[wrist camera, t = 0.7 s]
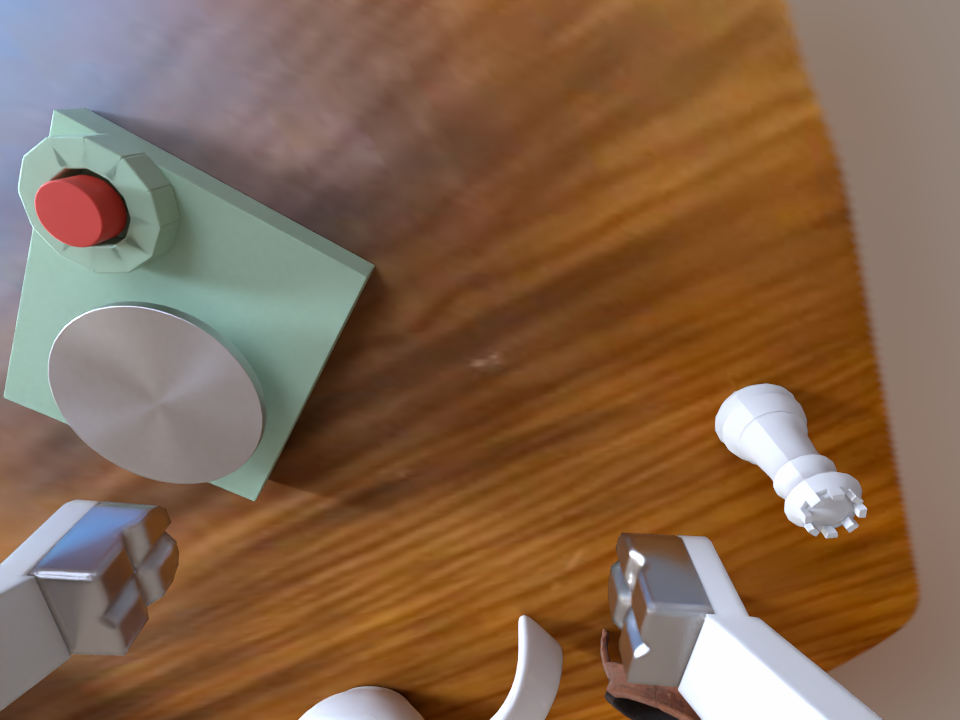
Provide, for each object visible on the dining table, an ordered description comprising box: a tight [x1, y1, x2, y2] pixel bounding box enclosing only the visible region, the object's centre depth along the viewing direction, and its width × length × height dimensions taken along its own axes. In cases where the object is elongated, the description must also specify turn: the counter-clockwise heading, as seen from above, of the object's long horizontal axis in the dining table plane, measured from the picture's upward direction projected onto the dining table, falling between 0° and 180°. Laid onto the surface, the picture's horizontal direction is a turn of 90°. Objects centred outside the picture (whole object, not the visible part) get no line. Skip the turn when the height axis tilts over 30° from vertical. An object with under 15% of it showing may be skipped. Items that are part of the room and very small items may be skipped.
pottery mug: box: [600, 629, 701, 720], centre depth 35 cm, size 12×10×8 cm
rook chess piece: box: [715, 383, 867, 538], centre depth 26 cm, size 4×4×8 cm
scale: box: [4, 108, 375, 501], centre depth 26 cm, size 16×14×4 cm
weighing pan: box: [48, 301, 267, 484], centre depth 25 cm, size 10×10×1 cm
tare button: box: [34, 175, 127, 248], centre depth 21 cm, size 3×3×2 cm
